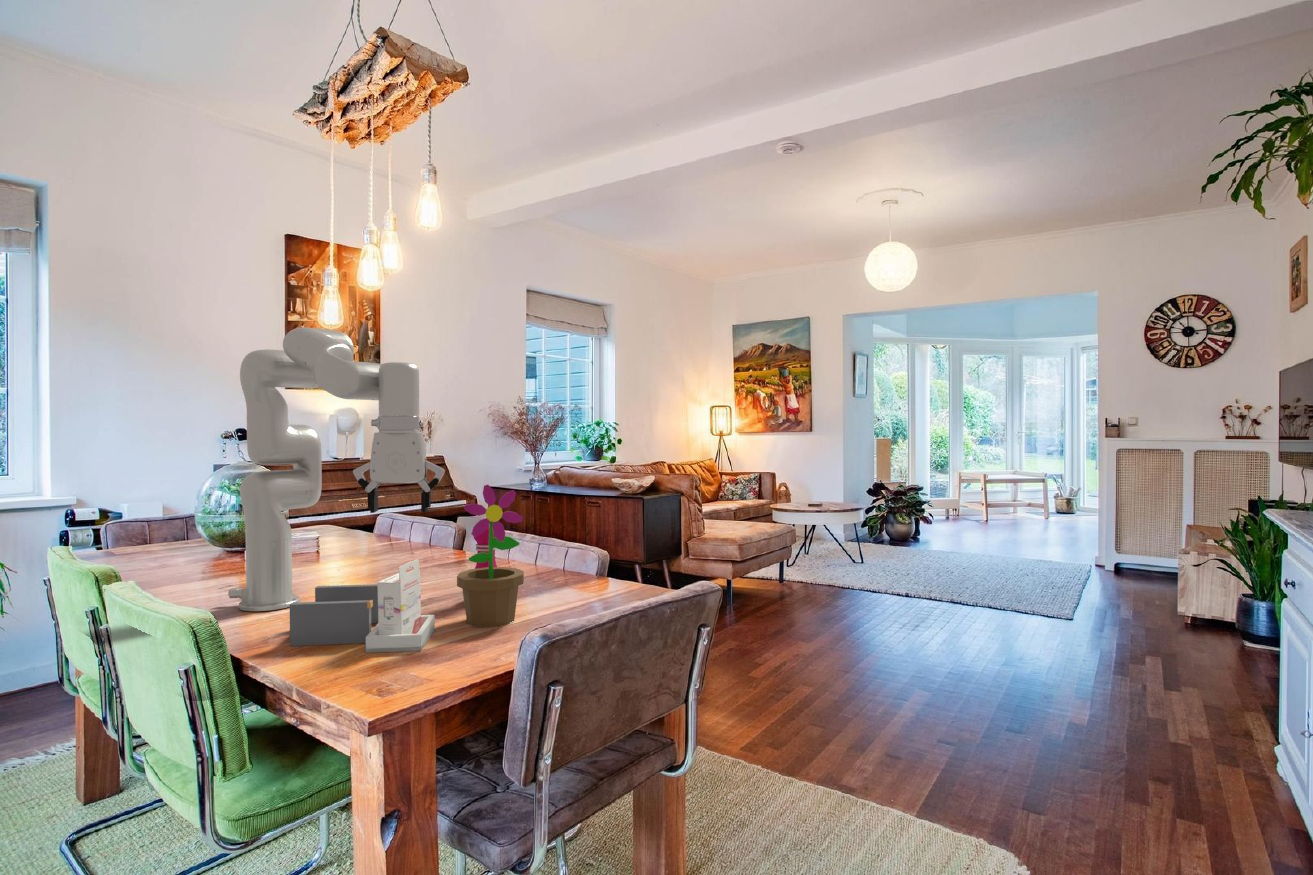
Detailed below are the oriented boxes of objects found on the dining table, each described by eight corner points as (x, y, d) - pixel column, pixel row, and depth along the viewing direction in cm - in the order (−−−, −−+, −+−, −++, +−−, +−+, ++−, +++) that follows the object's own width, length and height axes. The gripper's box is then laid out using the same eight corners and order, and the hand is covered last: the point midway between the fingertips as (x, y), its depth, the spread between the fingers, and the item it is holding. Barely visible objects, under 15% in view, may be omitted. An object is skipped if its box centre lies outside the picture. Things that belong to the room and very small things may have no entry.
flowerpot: (462, 633, 143) (461, 486, 143) (452, 615, 156) (451, 481, 156) (531, 625, 149) (531, 484, 148) (516, 608, 162) (516, 479, 161)
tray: (365, 652, 131) (365, 637, 131) (384, 630, 145) (384, 616, 145) (421, 650, 132) (421, 634, 132) (434, 629, 146) (434, 614, 146)
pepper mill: (507, 597, 172) (507, 516, 172) (486, 604, 166) (485, 520, 166) (486, 594, 176) (486, 514, 176) (464, 600, 170) (464, 517, 170)
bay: (290, 646, 135) (289, 604, 135) (318, 623, 151) (317, 585, 150) (370, 642, 137) (370, 602, 137) (390, 620, 153) (390, 583, 152)
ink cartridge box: (398, 629, 143) (398, 557, 143) (421, 630, 143) (421, 558, 142) (376, 642, 135) (376, 566, 134) (401, 643, 134) (400, 566, 134)
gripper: (347, 425, 134) (348, 514, 134) (440, 425, 136) (441, 513, 137) (359, 425, 141) (359, 509, 142) (447, 425, 144) (447, 508, 144)
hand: (399, 511), depth 139 cm, fingers open, 9 cm apart
